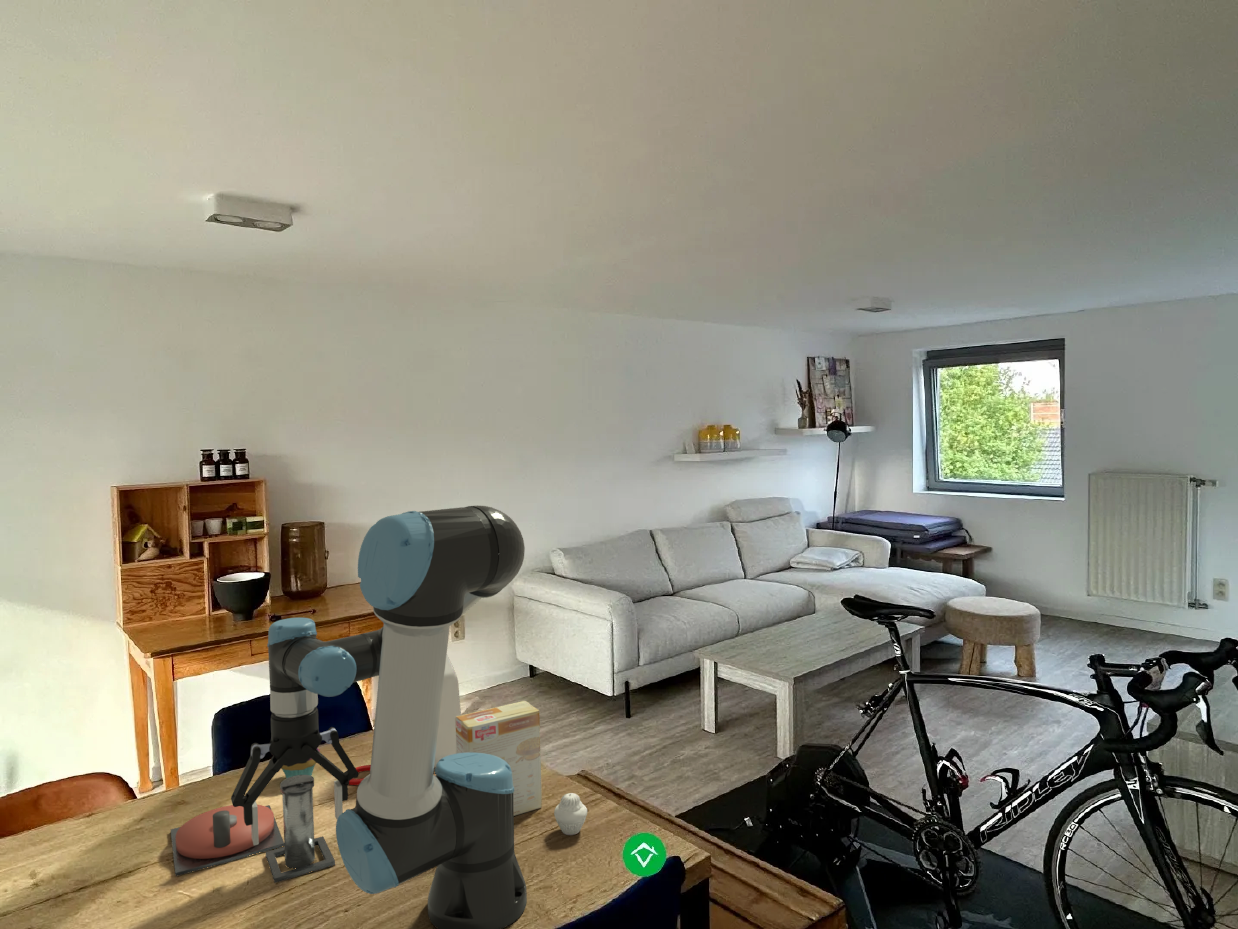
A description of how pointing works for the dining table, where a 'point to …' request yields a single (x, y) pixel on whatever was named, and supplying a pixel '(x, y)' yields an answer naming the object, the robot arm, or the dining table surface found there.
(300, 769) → the cupcake
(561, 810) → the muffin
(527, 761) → the coffeecake box
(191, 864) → the wheel base
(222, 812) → the red disc with handle
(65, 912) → the dining table surface
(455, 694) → the milk
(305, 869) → the grey flat square frame
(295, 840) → the metal peg
